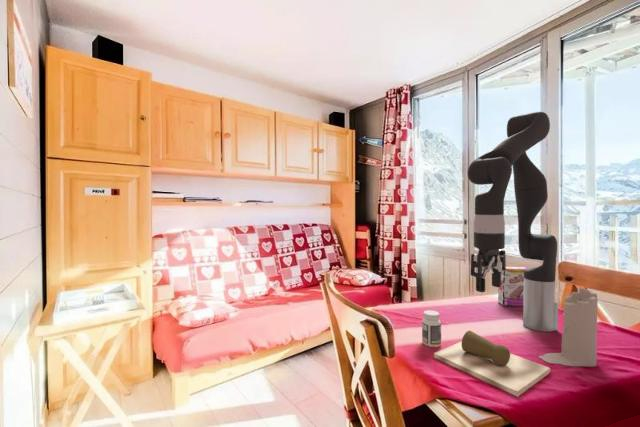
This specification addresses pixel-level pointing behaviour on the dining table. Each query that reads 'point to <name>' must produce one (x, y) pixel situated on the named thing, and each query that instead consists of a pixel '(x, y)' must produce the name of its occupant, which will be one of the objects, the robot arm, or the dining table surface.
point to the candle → (578, 331)
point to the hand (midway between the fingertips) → (488, 289)
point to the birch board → (495, 369)
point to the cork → (485, 348)
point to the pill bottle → (431, 329)
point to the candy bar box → (511, 287)
